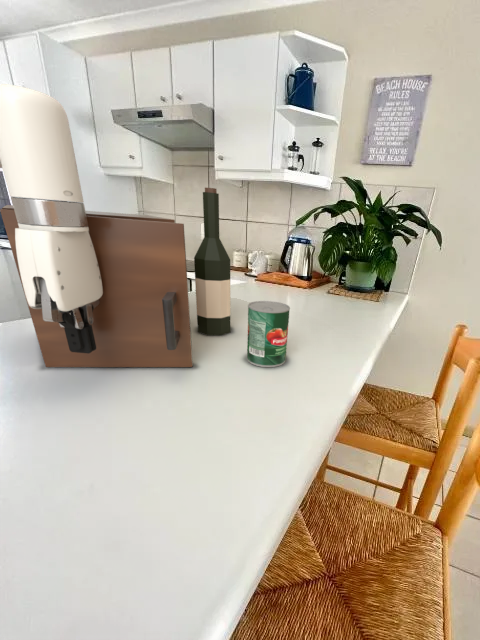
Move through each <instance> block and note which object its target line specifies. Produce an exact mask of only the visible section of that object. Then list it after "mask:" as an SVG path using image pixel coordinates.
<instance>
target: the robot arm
mask: <svg viewBox="0 0 480 640" xmlns="http://www.w3.org/2000/svg"><path fill="white" fill-rule="evenodd" d="M75 153H76V152H75V148H74V144H73V138H72V133H71V127H70V122H69V117H68V114H67V112H66V110H65V108H64V106H63V105H62V103H60V102H59V101H58V100H57V99H56V98H54V97H53V96H51V95H49V94H46V93H44V92H42V91H39V90H36V89H32V88H30V87H29V88H28V87H25V86H21V85H14V84H10V83H9V84H7V83H0V169H2V171H3V175H4V179H5V182H6V186H7V188H8V193H9V196H10V200H11V203H12V204H11V205H13V207H14V211H15V215H16V218H17V222H18V226H19V228H15V242H16V252H17V259H18V265H19V270H20V275H21V279H22V284H23V287H22V289H23V288H24V291H23V293H24V292H25V294H24V296H25V295H26V297H25V300H26V299H27V301H26V303H27V302H28V304H29V306H30V307H31V308H33V309H42V315H43V320H44V321H48V322H58V323H59V324H60V326H61V327H62V328H64V330H65V334H66V338H67V342H68V346H69V350H70V351H71V352H77V353H88V354H89V353H91V352H92V351H94V350H96V344H95V339H94V334H93V329H92V325H89V324H92V323H93V313H92V312H93V309H94V308H95V307H96V306H97V305H98V304H99V298H100V297H101V296H102V295H103V288H102V281H101V275H100V270H99V266H98V262H97V258H96V254H95V251H94V247H93V244H92V241H91V238H90V235H89V232H88V231H89V228H88V222H87V217H86V212H85V211H86V207H85V203H84V196H83V191H82V186H81V180H80V175H79V169H78V164H77V160H76V154H75ZM22 284H21V285H22ZM28 304H27V305H28ZM69 313H70V314H69Z"/></svg>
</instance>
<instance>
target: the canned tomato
mask: <svg viewBox="0 0 480 640" xmlns="http://www.w3.org/2000/svg"><path fill="white" fill-rule="evenodd" d="M247 307H248V308H247V341H246V344H247V348H246V353H247V354H246V355H247V356H246V361H247V362H248V363H250V364H251V365H253V366H257V367H261V368H277V367H280V366H282V365H284V364H285V363H286V361H287V359H286V357H287V349H288V348H287V347H288V336H289V335H288V332H289V323H290V309H291V307H290V305H288V304H286V303H284V302H279V301H271V300H256V301H251V302H249V303H248V304H247Z"/></svg>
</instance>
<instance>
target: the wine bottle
mask: <svg viewBox="0 0 480 640" xmlns="http://www.w3.org/2000/svg"><path fill="white" fill-rule="evenodd" d="M217 191H218V190H217V188H215V187H204V191H202V208H203V209H202V210H203V211H202V213H203V238H202V241H201V243H200V245H199V247H198V249H197V251H196V253H195V255H194V257H193V261H194V265H193V266H194V278H195V279H194V283H195V303H196V305H195V306H196V324H197V333H199V334H203V335H205V336H224V335H227V334H230V333H231V258H230V256H229V254H228V252H227V250H226V248H225V246H224V244H223V242H222V240H221V237H220V197H219V196H220V194H219V193H217Z"/></svg>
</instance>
